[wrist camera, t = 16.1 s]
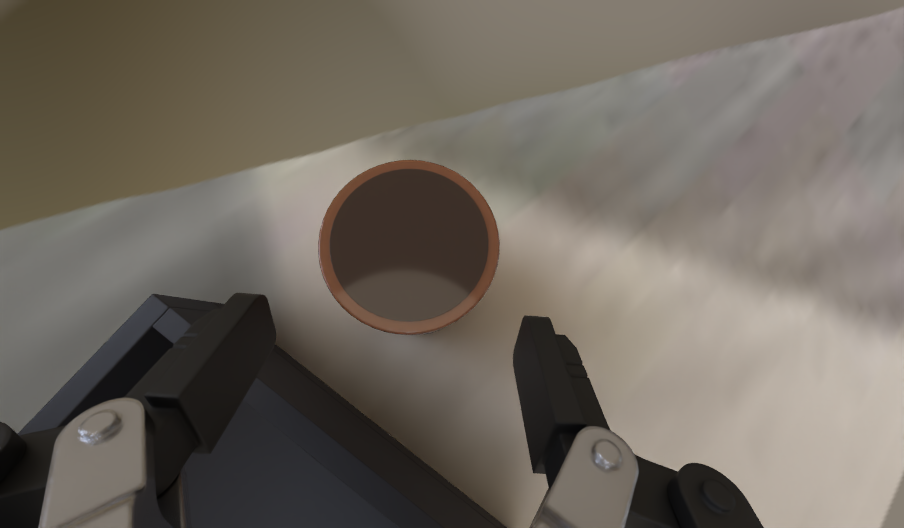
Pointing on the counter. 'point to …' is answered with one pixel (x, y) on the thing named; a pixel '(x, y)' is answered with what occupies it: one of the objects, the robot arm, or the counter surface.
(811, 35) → the counter surface
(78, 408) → the dark square tray
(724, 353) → the counter surface
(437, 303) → the brown cup
